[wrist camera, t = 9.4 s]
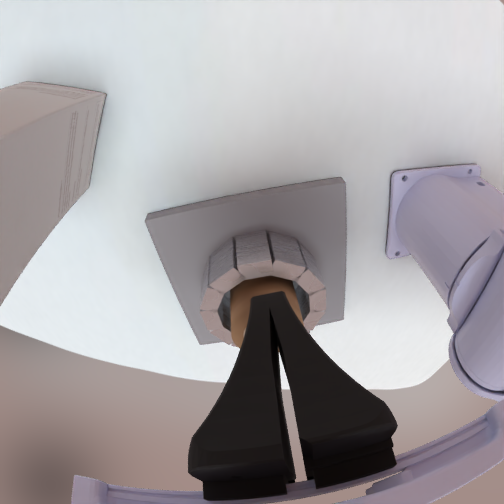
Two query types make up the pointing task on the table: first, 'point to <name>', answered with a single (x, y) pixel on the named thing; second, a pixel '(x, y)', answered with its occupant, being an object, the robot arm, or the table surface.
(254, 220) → the mount plate
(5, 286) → the supplement box
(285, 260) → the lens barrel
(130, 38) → the table surface
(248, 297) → the walnut cap
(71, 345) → the table surface
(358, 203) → the table surface
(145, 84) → the table surface
